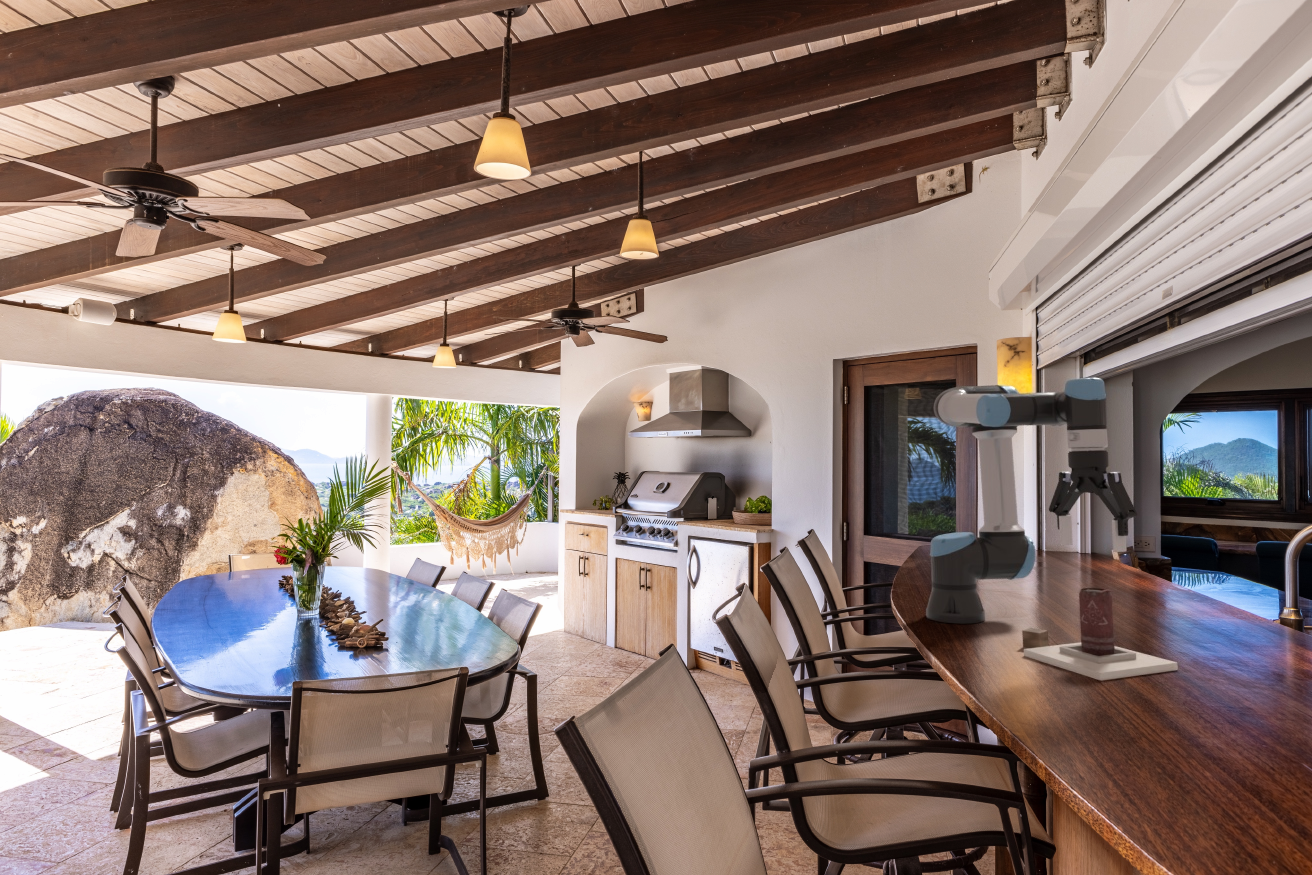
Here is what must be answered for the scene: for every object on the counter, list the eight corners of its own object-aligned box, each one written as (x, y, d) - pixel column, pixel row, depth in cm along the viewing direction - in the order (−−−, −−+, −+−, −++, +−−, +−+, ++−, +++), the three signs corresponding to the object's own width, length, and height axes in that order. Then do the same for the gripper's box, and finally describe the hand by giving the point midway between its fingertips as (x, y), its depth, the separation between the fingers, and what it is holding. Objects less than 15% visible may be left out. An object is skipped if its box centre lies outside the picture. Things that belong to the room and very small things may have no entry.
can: (1122, 658, 155) (1119, 591, 156) (1091, 659, 156) (1088, 592, 156) (1106, 651, 162) (1103, 586, 162) (1076, 651, 162) (1073, 587, 162)
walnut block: (1023, 647, 172) (1022, 630, 173) (1031, 644, 175) (1030, 627, 175) (1040, 650, 169) (1039, 633, 169) (1048, 647, 172) (1047, 630, 172)
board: (1024, 655, 165) (1023, 643, 165) (1094, 647, 171) (1094, 635, 171) (1100, 680, 146) (1100, 666, 146) (1177, 669, 152) (1177, 656, 152)
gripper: (1029, 451, 171) (1033, 543, 170) (1125, 448, 147) (1130, 555, 146) (1055, 450, 173) (1059, 541, 172) (1154, 448, 149) (1159, 553, 148)
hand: (1092, 548), depth 159 cm, fingers open, 13 cm apart
